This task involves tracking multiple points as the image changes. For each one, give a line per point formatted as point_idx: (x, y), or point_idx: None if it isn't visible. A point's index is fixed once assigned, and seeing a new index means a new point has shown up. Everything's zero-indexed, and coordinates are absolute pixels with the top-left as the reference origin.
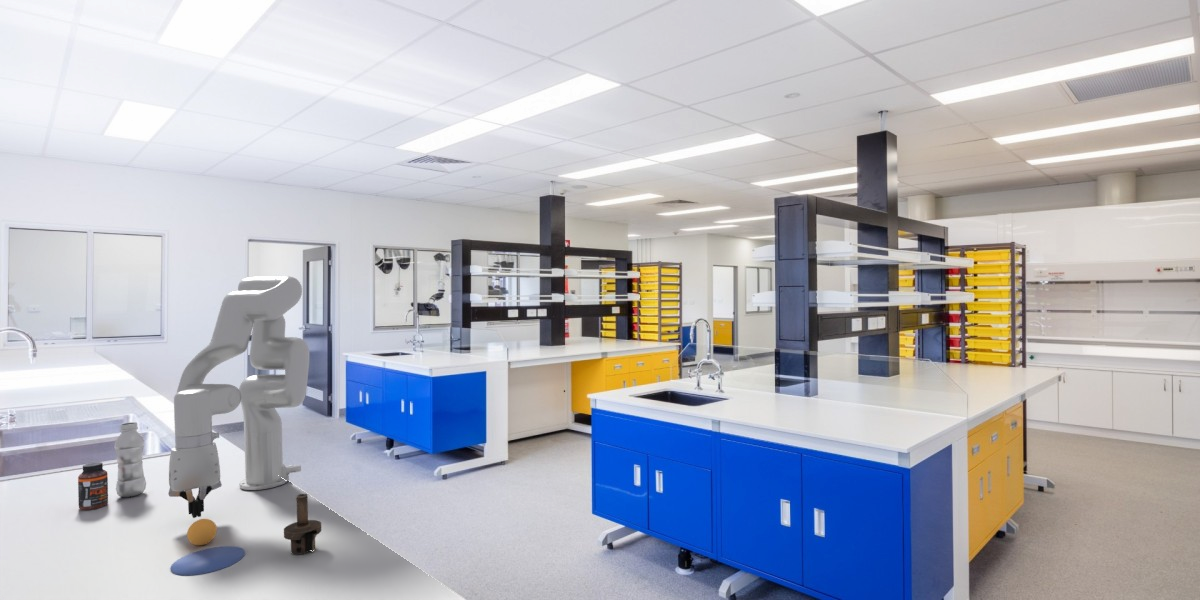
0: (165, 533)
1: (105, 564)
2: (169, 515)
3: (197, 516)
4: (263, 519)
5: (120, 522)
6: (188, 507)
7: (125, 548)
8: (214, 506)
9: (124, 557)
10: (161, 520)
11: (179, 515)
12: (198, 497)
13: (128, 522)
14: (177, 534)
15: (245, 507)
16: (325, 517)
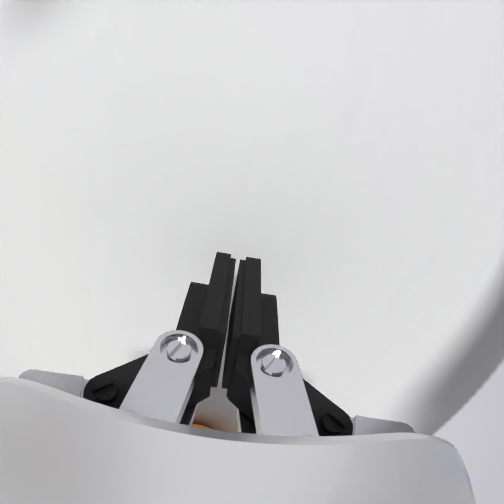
0: (106, 297)
1: (24, 363)
2: (155, 16)
3: (230, 313)
4: (387, 394)
5: (2, 4)
6: (184, 308)
7: (26, 317)
8: (407, 77)
9: (44, 364)
10: (102, 82)
11: (197, 60)
12: (233, 400)
13: (14, 19)
14: (144, 339)
15: (462, 248)
16: (429, 431)
